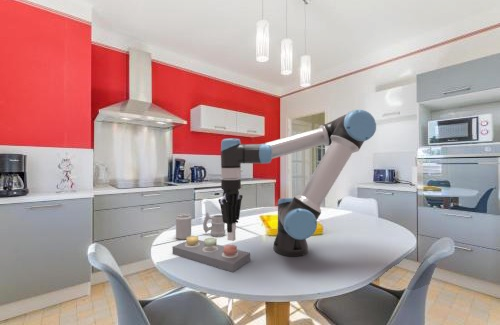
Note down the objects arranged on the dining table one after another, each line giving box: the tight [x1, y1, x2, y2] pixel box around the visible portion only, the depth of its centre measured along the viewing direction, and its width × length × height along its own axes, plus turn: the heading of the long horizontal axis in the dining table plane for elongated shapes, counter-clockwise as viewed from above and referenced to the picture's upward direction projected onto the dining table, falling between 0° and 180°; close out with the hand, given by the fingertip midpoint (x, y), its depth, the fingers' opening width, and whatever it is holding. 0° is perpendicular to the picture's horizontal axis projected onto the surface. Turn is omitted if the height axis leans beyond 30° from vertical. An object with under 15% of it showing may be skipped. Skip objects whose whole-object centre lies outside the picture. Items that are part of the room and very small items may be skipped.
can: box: [175, 212, 192, 241], centre depth 120 cm, size 8×8×12 cm
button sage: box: [203, 237, 218, 247], centre depth 97 cm, size 5×5×2 cm
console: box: [172, 239, 251, 273], centre depth 97 cm, size 31×12×3 cm, turn 59°
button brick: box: [223, 244, 238, 255], centre depth 92 cm, size 5×5×2 cm
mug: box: [202, 211, 226, 238], centre depth 125 cm, size 8×12×12 cm, turn 91°
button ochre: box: [185, 235, 199, 245], centre depth 102 cm, size 5×5×2 cm
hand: (231, 239), depth 92 cm, fingers closed
